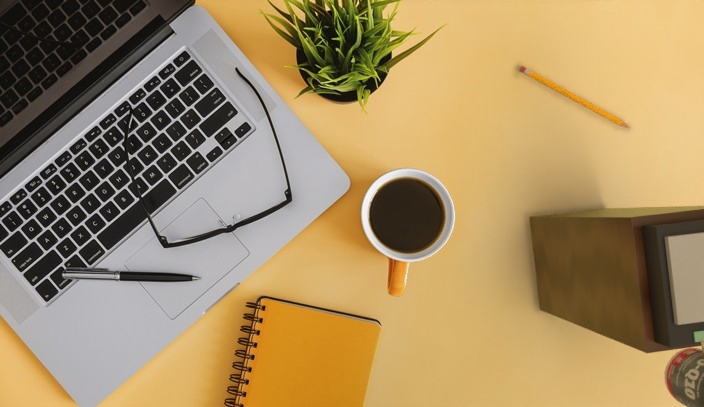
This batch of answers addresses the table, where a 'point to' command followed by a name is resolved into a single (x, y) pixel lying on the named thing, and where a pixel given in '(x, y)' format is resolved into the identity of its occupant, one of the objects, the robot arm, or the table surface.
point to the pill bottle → (686, 377)
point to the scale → (676, 281)
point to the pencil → (573, 96)
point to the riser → (601, 269)
